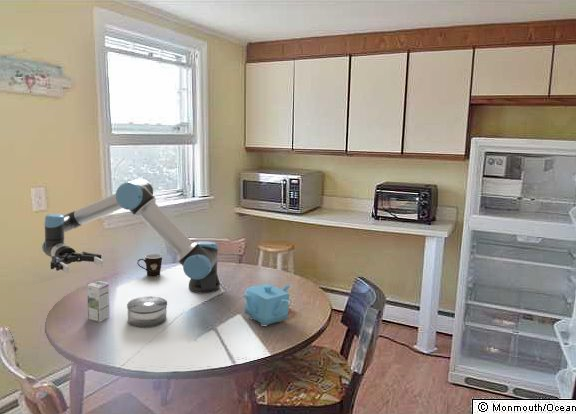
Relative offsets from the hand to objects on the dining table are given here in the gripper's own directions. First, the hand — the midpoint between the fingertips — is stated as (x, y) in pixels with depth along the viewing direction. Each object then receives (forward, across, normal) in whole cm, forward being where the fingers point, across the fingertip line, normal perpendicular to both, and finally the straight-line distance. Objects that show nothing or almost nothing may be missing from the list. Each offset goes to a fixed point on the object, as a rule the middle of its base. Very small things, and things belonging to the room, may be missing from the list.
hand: (85, 266), depth 167 cm
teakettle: (+56, -49, -18) cm, 77 cm away
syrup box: (+10, -1, -19) cm, 22 cm away
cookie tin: (+24, -14, -19) cm, 33 cm away
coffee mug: (-23, -44, -19) cm, 53 cm away
